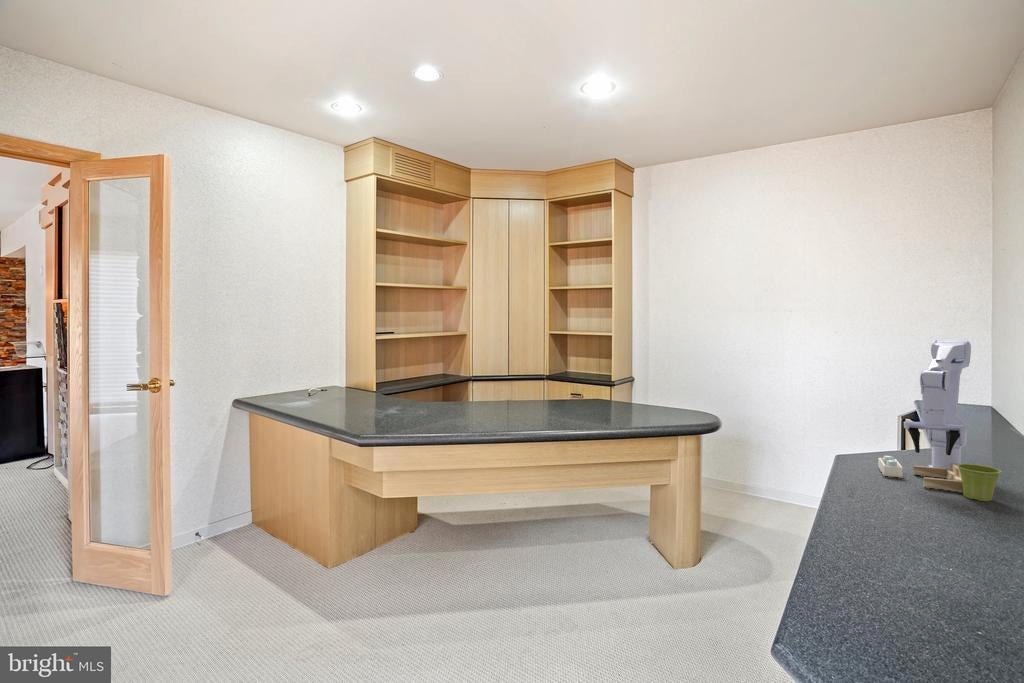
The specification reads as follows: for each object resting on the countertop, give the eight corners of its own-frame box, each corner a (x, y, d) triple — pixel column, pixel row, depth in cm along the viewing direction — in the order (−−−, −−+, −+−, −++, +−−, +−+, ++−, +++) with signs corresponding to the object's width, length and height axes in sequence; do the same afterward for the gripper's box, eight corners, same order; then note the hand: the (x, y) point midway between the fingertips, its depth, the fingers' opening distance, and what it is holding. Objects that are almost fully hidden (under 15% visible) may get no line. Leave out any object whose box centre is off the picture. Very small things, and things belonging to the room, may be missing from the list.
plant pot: (983, 493, 158) (983, 464, 158) (1009, 504, 149) (1010, 473, 148) (948, 492, 159) (949, 463, 159) (972, 503, 149) (973, 472, 149)
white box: (878, 467, 186) (878, 454, 186) (895, 469, 184) (896, 455, 184) (883, 476, 175) (884, 462, 175) (902, 478, 173) (902, 463, 173)
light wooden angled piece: (913, 474, 178) (913, 459, 178) (961, 479, 172) (962, 463, 172) (924, 487, 163) (924, 471, 163) (977, 493, 157) (978, 476, 157)
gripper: (907, 409, 166) (906, 453, 166) (967, 413, 159) (966, 458, 160) (902, 406, 172) (901, 448, 172) (960, 409, 165) (959, 453, 166)
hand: (932, 453), depth 166 cm, fingers open, 7 cm apart
